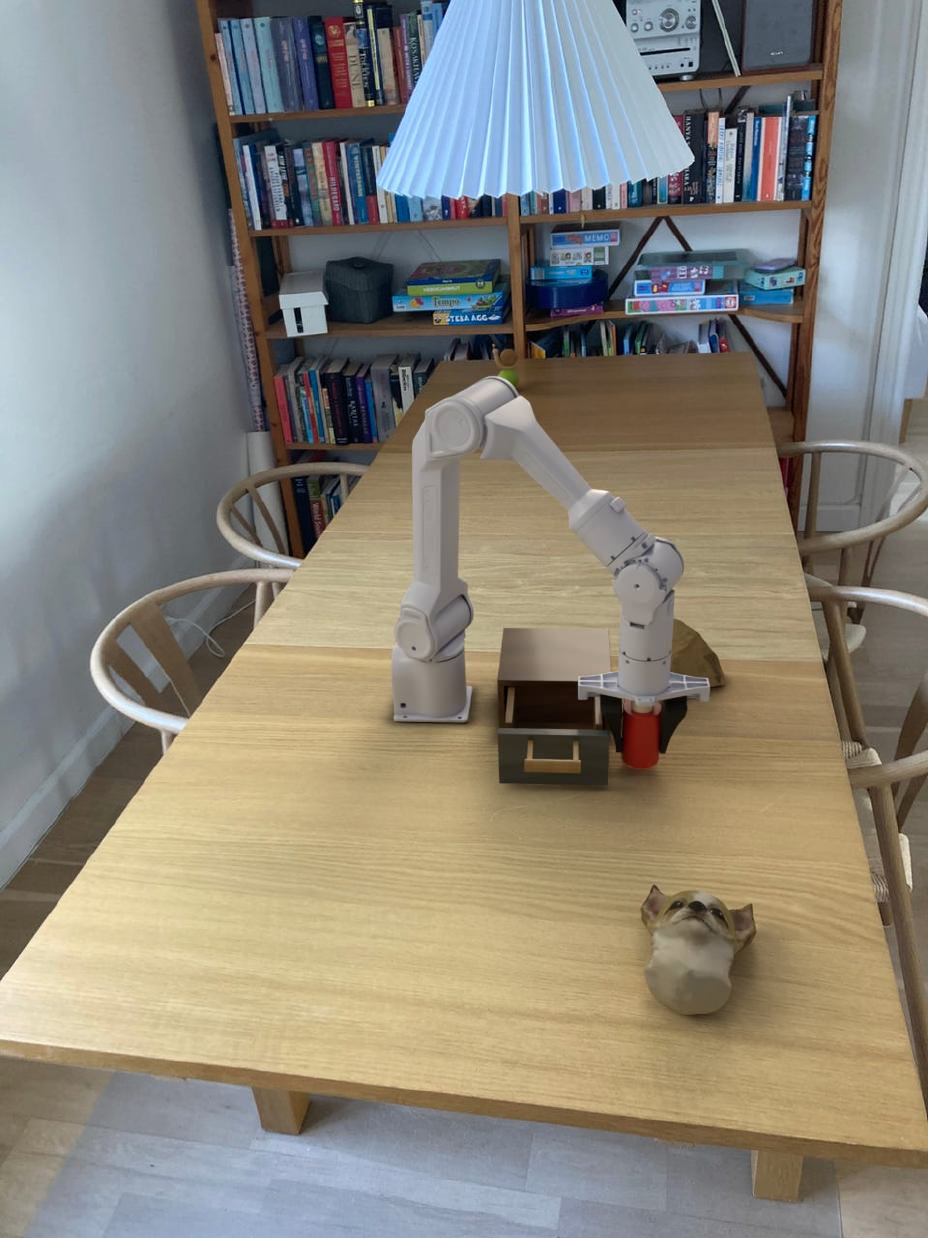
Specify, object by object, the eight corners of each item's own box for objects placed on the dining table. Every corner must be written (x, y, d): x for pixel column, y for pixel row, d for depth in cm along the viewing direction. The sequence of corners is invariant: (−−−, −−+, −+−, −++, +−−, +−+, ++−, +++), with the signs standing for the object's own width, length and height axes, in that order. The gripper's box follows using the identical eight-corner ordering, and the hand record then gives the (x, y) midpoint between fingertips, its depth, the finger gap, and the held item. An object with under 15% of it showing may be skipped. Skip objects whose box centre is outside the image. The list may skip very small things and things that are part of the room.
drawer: (609, 814, 111) (611, 763, 107) (496, 811, 112) (494, 760, 109) (604, 727, 125) (606, 679, 122) (504, 725, 126) (503, 678, 123)
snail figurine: (490, 389, 255) (489, 341, 249) (514, 386, 257) (513, 338, 251) (497, 395, 251) (496, 346, 245) (521, 392, 252) (521, 343, 246)
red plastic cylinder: (621, 769, 117) (624, 708, 113) (619, 746, 121) (622, 686, 117) (660, 769, 117) (664, 708, 112) (657, 747, 120) (661, 687, 116)
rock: (732, 652, 136) (658, 634, 138) (740, 628, 128) (662, 609, 131) (714, 727, 133) (639, 707, 135) (721, 707, 125) (641, 686, 127)
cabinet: (610, 742, 124) (612, 681, 119) (499, 740, 125) (497, 680, 121) (606, 686, 135) (608, 628, 130) (504, 684, 136) (503, 627, 132)
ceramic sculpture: (623, 945, 84) (650, 836, 97) (617, 1020, 88) (644, 906, 101) (755, 973, 81) (765, 857, 94) (743, 1050, 85) (755, 928, 98)
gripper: (579, 666, 109) (577, 767, 115) (716, 668, 107) (707, 770, 114) (578, 633, 115) (577, 731, 121) (708, 634, 113) (700, 733, 120)
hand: (639, 748), depth 118 cm, fingers closed on red plastic cylinder, 4 cm apart
